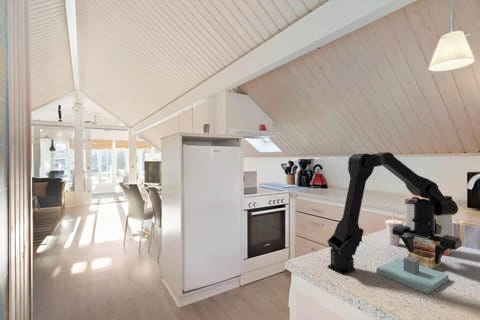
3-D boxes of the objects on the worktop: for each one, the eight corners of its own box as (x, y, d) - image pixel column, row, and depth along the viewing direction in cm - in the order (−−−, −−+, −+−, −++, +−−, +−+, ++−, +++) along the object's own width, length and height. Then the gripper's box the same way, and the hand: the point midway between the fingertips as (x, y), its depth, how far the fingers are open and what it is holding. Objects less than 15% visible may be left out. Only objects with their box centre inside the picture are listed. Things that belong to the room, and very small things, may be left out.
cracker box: (452, 252, 92) (452, 198, 92) (447, 256, 89) (447, 200, 88) (411, 242, 104) (410, 194, 103) (405, 245, 100) (404, 196, 100)
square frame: (408, 261, 85) (408, 253, 85) (417, 257, 88) (417, 249, 88) (431, 269, 79) (431, 260, 79) (440, 264, 82) (440, 255, 82)
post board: (376, 272, 77) (376, 256, 77) (398, 262, 84) (398, 247, 84) (427, 293, 65) (427, 274, 65) (448, 279, 72) (448, 261, 72)
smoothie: (383, 244, 101) (383, 211, 101) (387, 240, 106) (386, 209, 106) (401, 248, 97) (401, 214, 97) (404, 243, 102) (403, 211, 102)
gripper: (467, 218, 79) (468, 264, 80) (406, 208, 96) (406, 246, 96) (454, 223, 74) (454, 273, 74) (391, 212, 90) (391, 252, 90)
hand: (424, 260), depth 84 cm, fingers closed on square frame, 7 cm apart
